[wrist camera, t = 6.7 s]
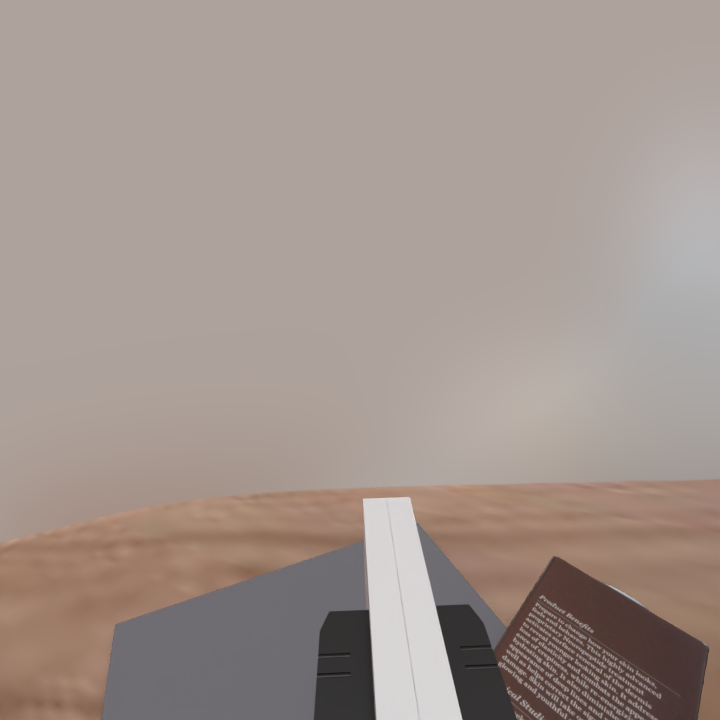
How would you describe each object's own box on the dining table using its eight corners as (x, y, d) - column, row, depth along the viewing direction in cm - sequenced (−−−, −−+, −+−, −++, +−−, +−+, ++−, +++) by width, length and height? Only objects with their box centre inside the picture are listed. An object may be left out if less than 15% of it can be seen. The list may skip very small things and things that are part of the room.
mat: (417, 527, 28) (417, 522, 28) (546, 682, 18) (547, 676, 18) (116, 630, 21) (115, 624, 21) (69, 964, 11) (66, 957, 11)
